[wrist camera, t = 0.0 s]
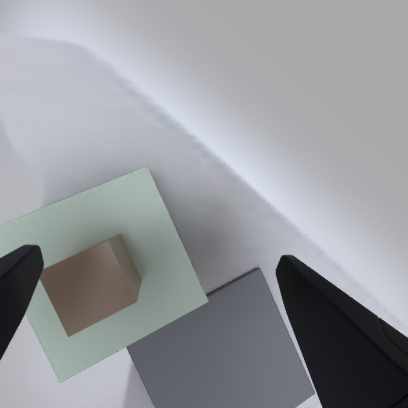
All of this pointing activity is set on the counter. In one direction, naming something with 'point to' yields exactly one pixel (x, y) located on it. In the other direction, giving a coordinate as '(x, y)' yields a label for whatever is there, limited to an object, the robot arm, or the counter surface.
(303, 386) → the mat
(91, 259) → the lid
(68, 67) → the counter surface
